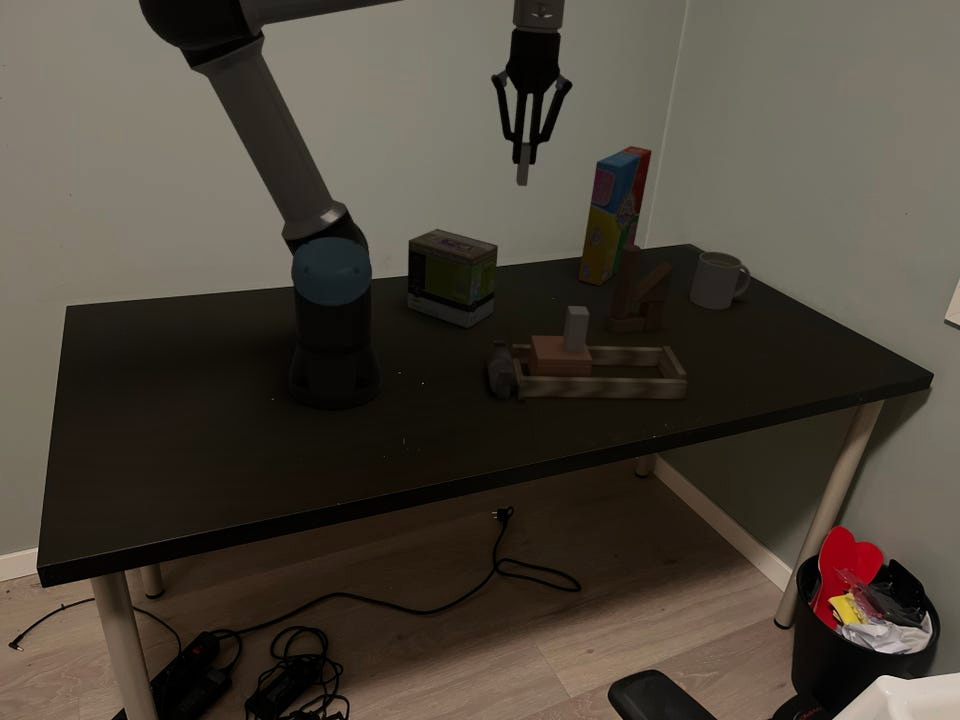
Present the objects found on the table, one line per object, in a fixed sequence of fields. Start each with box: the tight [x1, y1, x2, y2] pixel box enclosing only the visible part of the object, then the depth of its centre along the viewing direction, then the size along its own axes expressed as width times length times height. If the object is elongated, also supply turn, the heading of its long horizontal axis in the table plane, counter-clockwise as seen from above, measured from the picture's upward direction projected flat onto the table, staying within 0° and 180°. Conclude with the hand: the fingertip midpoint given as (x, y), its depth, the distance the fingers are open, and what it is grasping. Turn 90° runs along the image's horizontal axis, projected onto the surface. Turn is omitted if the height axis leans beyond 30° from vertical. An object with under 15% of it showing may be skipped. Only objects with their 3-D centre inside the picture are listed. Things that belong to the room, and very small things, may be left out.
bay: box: [485, 339, 688, 402], centre depth 122 cm, size 33×12×5 cm, turn 95°
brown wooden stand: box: [603, 244, 674, 334], centre depth 138 cm, size 4×11×18 cm, turn 107°
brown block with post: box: [527, 305, 593, 378], centre depth 119 cm, size 9×9×13 cm
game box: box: [578, 145, 653, 286], centre depth 162 cm, size 21×6×27 cm, turn 149°
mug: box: [689, 251, 751, 311], centre depth 155 cm, size 11×10×10 cm
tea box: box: [407, 228, 499, 329], centre depth 141 cm, size 15×10×15 cm, turn 58°
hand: (521, 183), depth 119 cm, fingers closed
